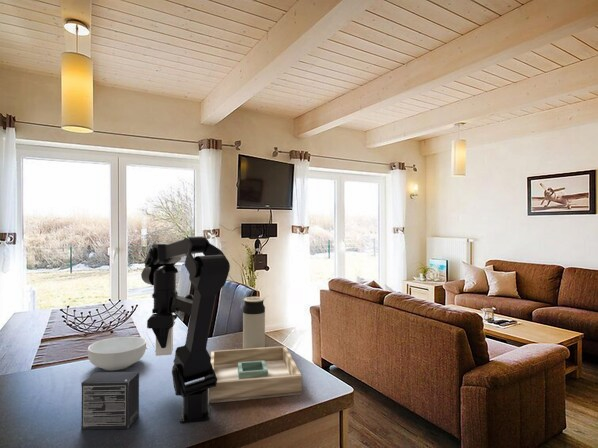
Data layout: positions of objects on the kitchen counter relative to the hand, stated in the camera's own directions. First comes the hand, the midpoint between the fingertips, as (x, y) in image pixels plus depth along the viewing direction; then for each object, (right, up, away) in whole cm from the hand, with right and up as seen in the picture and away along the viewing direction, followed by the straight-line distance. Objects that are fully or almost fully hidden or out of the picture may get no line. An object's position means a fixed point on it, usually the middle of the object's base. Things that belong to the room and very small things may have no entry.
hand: (164, 345), depth 100 cm
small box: (-6, -12, -17) cm, 22 cm away
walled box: (+23, -12, +6) cm, 27 cm away
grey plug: (0, -2, 0) cm, 2 cm away
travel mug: (+20, -12, +33) cm, 41 cm away
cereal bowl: (-21, -12, +16) cm, 29 cm away
